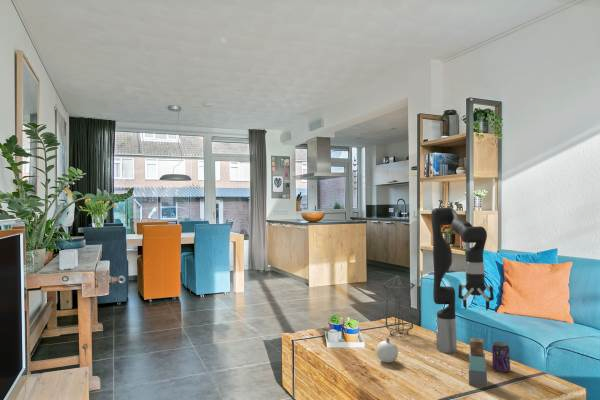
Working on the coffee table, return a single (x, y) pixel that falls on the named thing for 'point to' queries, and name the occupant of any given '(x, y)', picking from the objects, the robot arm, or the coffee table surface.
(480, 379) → the tower base
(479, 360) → the tower mid
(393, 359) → the ornament
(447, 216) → the robot arm
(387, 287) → the geometric lantern
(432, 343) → the coffee table surface
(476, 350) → the walnut block
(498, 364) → the beverage can
